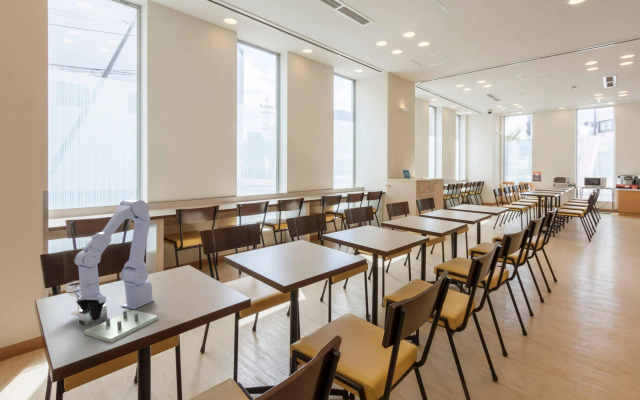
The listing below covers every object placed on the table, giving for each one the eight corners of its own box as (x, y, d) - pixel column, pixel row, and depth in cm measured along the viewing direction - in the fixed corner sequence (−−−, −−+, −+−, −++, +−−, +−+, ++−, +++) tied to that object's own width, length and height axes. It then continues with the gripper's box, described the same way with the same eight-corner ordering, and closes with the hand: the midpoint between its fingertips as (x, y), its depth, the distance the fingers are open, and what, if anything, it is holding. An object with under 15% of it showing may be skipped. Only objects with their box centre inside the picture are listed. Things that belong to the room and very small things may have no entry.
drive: (100, 316, 127) (99, 303, 127) (107, 317, 126) (106, 305, 125) (78, 325, 120) (77, 312, 119) (85, 327, 118) (84, 314, 118)
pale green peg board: (132, 312, 130) (132, 303, 129) (157, 319, 124) (157, 309, 124) (84, 334, 113) (83, 323, 113) (110, 342, 108) (109, 331, 107)
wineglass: (82, 315, 128) (79, 285, 127) (63, 316, 128) (61, 286, 126) (92, 308, 135) (90, 279, 134) (75, 308, 134) (72, 280, 133)
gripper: (65, 283, 121) (69, 319, 122) (90, 289, 115) (93, 326, 116) (86, 277, 127) (89, 311, 128) (110, 282, 121) (113, 317, 122)
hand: (92, 318), depth 123 cm, fingers closed on drive, 4 cm apart
